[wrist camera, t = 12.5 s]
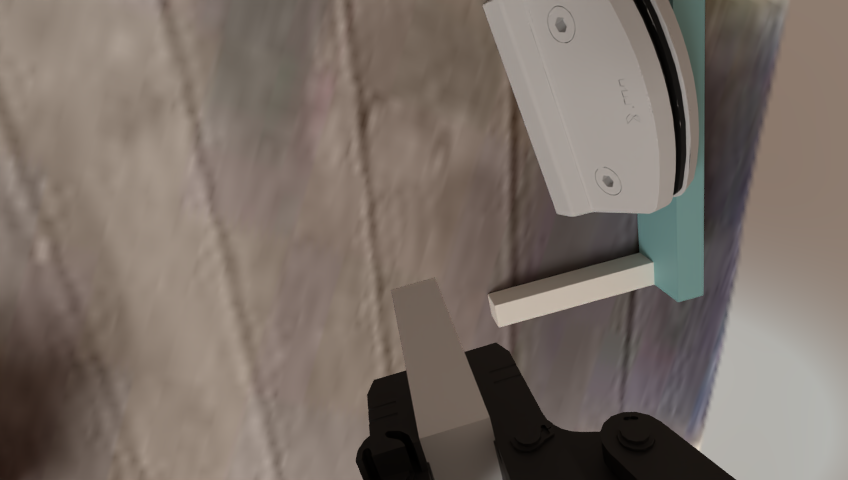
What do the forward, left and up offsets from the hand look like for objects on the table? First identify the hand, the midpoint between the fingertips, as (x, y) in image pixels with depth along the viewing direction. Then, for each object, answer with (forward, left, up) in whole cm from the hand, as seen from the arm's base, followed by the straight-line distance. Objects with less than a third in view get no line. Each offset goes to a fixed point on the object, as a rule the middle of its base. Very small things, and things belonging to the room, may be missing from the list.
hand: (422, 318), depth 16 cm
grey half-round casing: (-2, +14, -20) cm, 25 cm away
